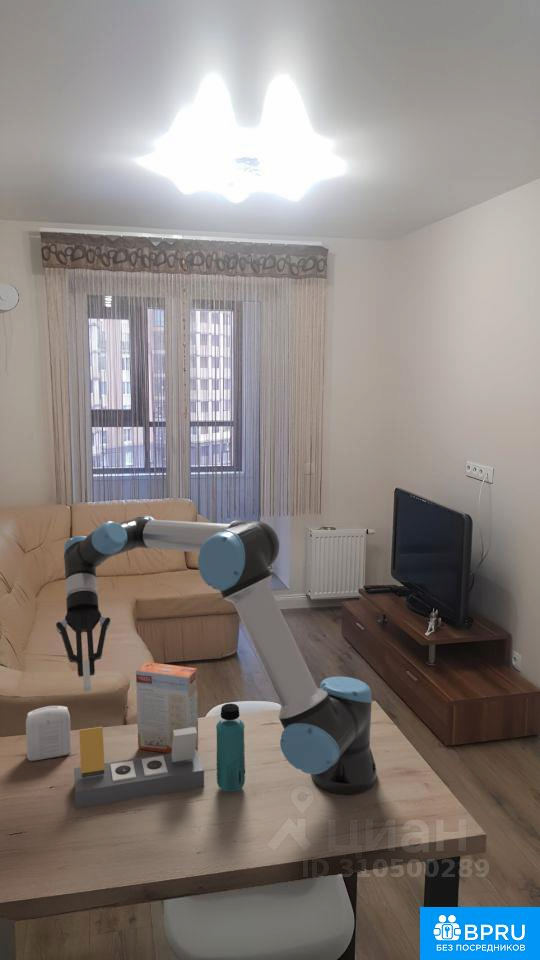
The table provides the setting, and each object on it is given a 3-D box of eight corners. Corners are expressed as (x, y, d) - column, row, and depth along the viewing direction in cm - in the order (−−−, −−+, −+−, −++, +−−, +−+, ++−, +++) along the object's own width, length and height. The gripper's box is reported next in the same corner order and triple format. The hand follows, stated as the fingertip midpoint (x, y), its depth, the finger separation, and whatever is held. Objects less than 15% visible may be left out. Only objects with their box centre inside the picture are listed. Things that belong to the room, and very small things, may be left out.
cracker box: (199, 745, 174) (198, 667, 170) (189, 758, 168) (188, 677, 165) (148, 736, 178) (146, 659, 174) (137, 749, 172) (135, 669, 168)
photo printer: (70, 746, 173) (68, 699, 171) (72, 755, 169) (70, 708, 167) (26, 754, 170) (24, 707, 167) (27, 763, 166) (24, 715, 163)
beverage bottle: (241, 800, 153) (241, 715, 149) (212, 796, 154) (211, 712, 150) (248, 782, 159) (248, 701, 155) (220, 778, 160) (219, 698, 157)
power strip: (196, 764, 166) (196, 746, 165) (204, 786, 157) (203, 768, 157) (74, 784, 158) (73, 766, 157) (75, 808, 149) (75, 789, 148)
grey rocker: (192, 755, 161) (195, 726, 156) (194, 761, 160) (196, 732, 155) (171, 759, 160) (173, 730, 155) (172, 765, 159) (174, 736, 153)
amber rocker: (104, 773, 155) (102, 726, 157) (104, 774, 154) (102, 727, 156) (81, 776, 154) (79, 729, 156) (81, 778, 152) (79, 730, 154)
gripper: (108, 600, 177) (115, 691, 164) (54, 604, 173) (57, 698, 161) (109, 586, 171) (116, 680, 158) (54, 591, 167) (57, 687, 155)
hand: (87, 689), depth 160 cm, fingers closed
